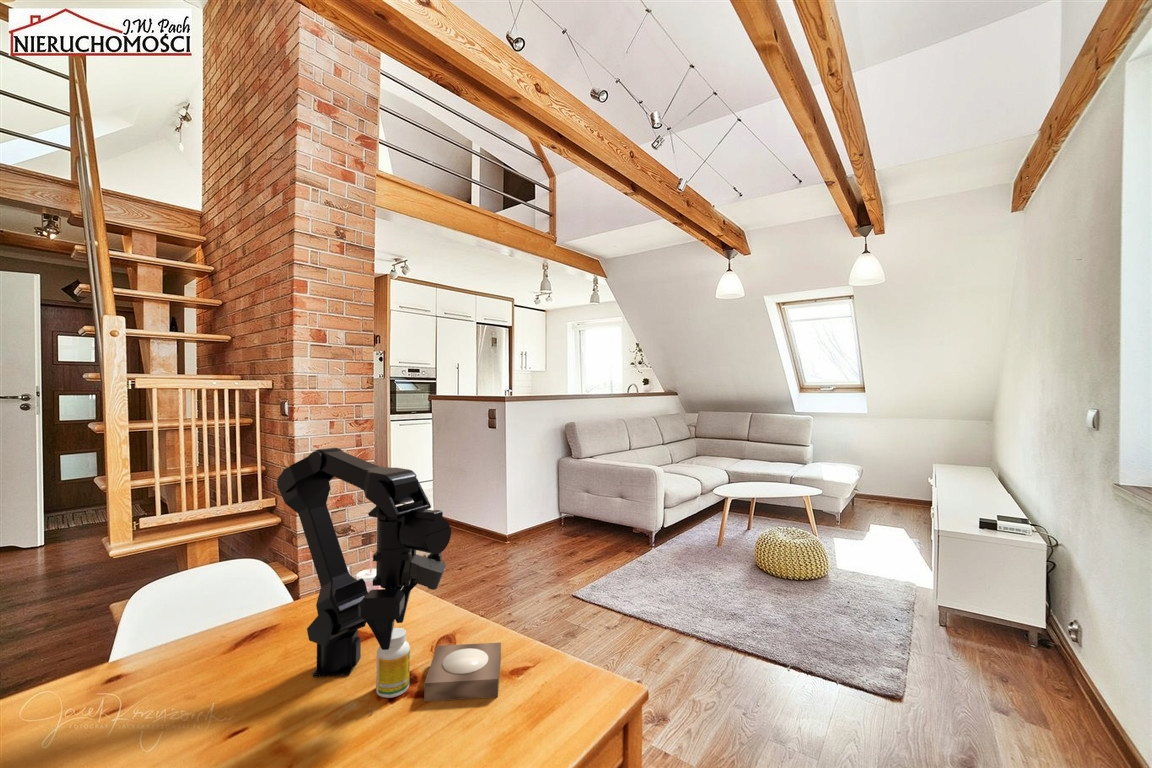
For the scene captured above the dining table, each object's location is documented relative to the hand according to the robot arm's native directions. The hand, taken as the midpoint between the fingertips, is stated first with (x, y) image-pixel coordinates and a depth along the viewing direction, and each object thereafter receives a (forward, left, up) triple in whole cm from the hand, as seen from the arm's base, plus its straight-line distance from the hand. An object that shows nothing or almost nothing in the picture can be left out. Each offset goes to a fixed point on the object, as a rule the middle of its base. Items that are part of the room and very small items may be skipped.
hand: (393, 635), depth 84 cm
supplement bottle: (0, 0, -9) cm, 9 cm away
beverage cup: (-13, +31, -9) cm, 35 cm away
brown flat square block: (+12, +2, -9) cm, 15 cm away
